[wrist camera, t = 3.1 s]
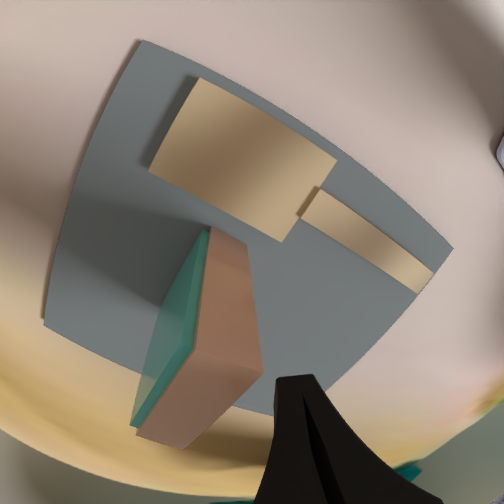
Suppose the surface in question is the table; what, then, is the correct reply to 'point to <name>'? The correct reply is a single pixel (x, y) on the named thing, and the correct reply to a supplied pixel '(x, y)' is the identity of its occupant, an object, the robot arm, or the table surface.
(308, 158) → the turner
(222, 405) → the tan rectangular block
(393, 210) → the mat
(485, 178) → the table surface
